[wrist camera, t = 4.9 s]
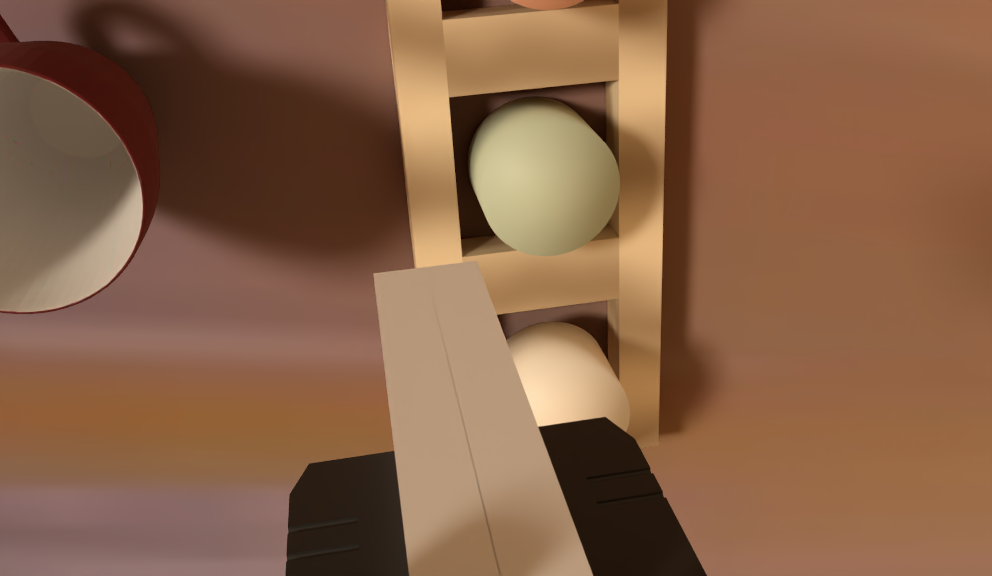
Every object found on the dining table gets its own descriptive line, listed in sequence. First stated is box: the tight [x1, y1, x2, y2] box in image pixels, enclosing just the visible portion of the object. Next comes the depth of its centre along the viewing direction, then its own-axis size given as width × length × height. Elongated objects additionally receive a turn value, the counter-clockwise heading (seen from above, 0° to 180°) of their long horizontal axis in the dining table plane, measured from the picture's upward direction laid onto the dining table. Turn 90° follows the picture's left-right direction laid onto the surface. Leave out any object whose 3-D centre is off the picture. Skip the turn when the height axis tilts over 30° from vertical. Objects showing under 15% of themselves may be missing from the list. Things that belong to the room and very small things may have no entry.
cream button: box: [506, 322, 630, 432], centre depth 42 cm, size 6×6×4 cm
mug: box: [0, 15, 160, 314], centre depth 32 cm, size 11×8×10 cm
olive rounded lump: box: [467, 96, 620, 256], centre depth 38 cm, size 6×6×4 cm
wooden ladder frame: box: [385, 0, 668, 448], centre depth 40 cm, size 30×11×2 cm, turn 3°
